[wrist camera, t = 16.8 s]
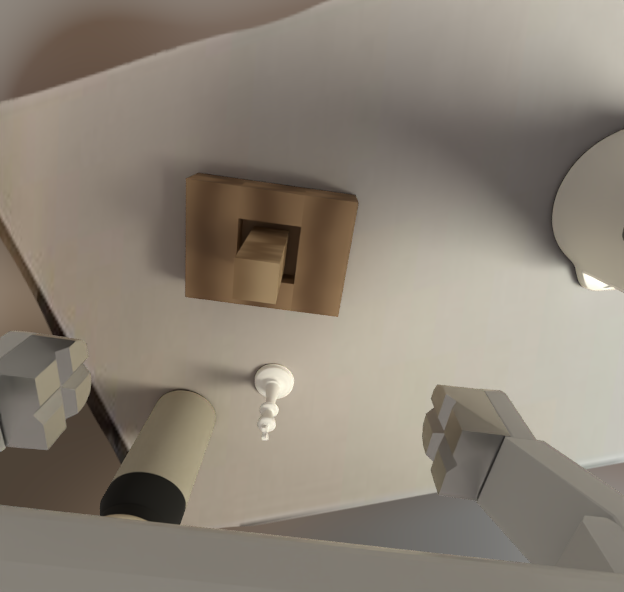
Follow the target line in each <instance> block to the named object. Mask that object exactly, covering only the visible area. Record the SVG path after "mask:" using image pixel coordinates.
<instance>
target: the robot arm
mask: <svg viewBox="0 0 624 592" xmlns="http://www.w3.org/2000/svg"><path fill="white" fill-rule="evenodd" d="M552 226H553V232H554V236H555V239H556V241H557V243H558V245H559V247H560V248H561V250H562V251H563V253H564V254H565V255H566V256H567V257H568V258H569V259H570V260H571V261H572V262H573V264H574V266H575V269H576V273H577V277H578V281H579V283H580V285H581V286H582V287H584V288H586V289H589V290H592V291H600V290H619V291H621V292H623V293H624V129H623V130H621V131H619V132H616V133H614V134H612V135H610V136H608V137H606V138H605V139H603V140H601V141H600V142H598V143H597V144H595V145H594V146H593V147H592V148H590V149H589V150H588V151H587V152H586V153H584V154H583V155H582V156H581V157H580V158H579V160H578V161H577V162H576V163H575V164H574V165H573V166H572V168H571V169H570V170H569V172H568V173H567V175H566V176H565V178H564V180H563V182H562V184H561V186H560V188H559V190H558V192H557V195H556V198H555V202H554V206H553V213H552ZM88 357H89V356H88V349H87V344H86V343H85V342H84V341H83V340H81V339H74V338H67V337H60V336H53V335H46V334H40V333H39V334H37V333H32V332H23V331H9V332H8V333H6V334H5V335H3V336H2V337H0V451H2V450H4V449H5V446H7V447H18V448H29V449H41V450H48V449H49V448H50V447H51V446H52V444H53V443H54V442H55V441H56V440H57V438H58V437H59V436H60V435H61V433H62V432H63V431H64V430H65V429H66V420H65V419H67V418H69V417H71V416H73V415H75V414H77V413H78V412H79V411H80V410H81V409H82V407H83V406H84V405H85V403H86V401H87V398H88V396H89V393H90V389H91V373H90V372H89V370H88V369H87V368H86V367H85V366H84V365H83V363H84V361H85V360H86V359H87V358H88ZM431 400H432V403H433V405H434V408H433V409H432V410H430V411H429V412H428V413H426V416H425V420H424V423H423V433H422V439H423V446H424V450H425V453H426V455H427V456H428V457H429V458H430V459H431V460H432V461H433V464H432V467H431V473H432V476H433V479H434V483H435V486H436V489H437V492H438V495H441V496H448V497H455V498H462V499H468V500H475V501H477V503H478V504H479V505H480V507H481V508H482V509H483V510H484V511H485V512H486V513H487V514H488V516H489V517H490V518H491V519H492V520H493V521H494V522H495V524H496V525H497V526H498V527H499V528H500V529H501V530H502V531H503V533H504V534H505V535H506V536H507V537H508V538H509V539H510V540H511V541H512V543H513V544H514V545H515V546H516V547H517V548H518V549H519V551H520V552H521V553H522V554H523V555H524V556H525V557H526V558H527V560H528V561H529V562H530V563H521V562H513V561H504V560H494V559H485V558H476V557H466V556H457V555H448V554H438V553H429V552H419V551H412V550H403V549H393V548H385V547H376V546H366V545H357V544H349V543H340V542H331V541H322V540H313V539H305V538H295V537H286V536H277V535H269V534H260V533H251V532H241V531H232V530H223V529H214V528H205V527H196V526H187V525H178V524H168V523H159V522H150V521H141V520H132V519H123V518H114V517H105V516H95V515H86V514H77V513H68V512H59V511H50V510H40V509H32V508H22V507H14V506H4V505H0V592H624V495H622V494H621V493H619V492H618V491H616V490H615V489H614V488H612V487H611V486H609V485H608V484H606V483H605V482H603V481H602V480H600V479H599V478H597V477H596V476H594V475H593V474H591V473H590V472H589V471H587V470H586V469H584V468H583V467H581V466H580V465H578V464H577V463H575V462H574V461H572V460H571V459H569V458H568V457H566V456H565V455H564V454H562V453H561V452H559V451H558V450H556V449H555V448H553V447H552V446H550V445H549V444H547V443H546V442H544V441H540V440H536V438H535V437H534V435H533V434H532V432H531V431H530V429H529V428H528V426H527V425H526V423H525V422H524V420H523V419H522V417H521V416H520V414H519V413H518V411H517V410H516V408H515V407H514V405H513V404H512V402H511V401H510V399H509V398H508V396H507V395H506V394H505V393H504V392H502V391H500V390H489V389H474V388H465V387H456V386H447V385H437V386H436V387H435V389H434V391H433V394H432V397H431Z"/></svg>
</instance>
